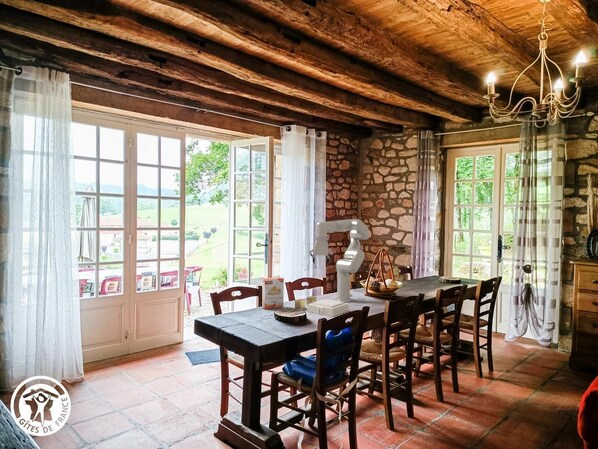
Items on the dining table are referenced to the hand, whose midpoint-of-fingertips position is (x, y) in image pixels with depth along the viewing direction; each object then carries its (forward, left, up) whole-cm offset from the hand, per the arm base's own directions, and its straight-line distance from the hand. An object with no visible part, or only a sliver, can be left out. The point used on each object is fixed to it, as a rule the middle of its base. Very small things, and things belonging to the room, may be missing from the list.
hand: (320, 263), depth 292 cm
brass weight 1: (+16, -6, -31) cm, 35 cm away
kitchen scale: (+11, +14, -30) cm, 35 cm away
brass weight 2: (+2, -6, -31) cm, 31 cm away
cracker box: (+26, -22, -31) cm, 46 cm away
